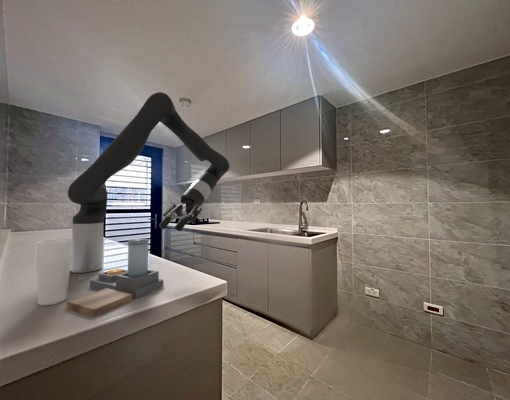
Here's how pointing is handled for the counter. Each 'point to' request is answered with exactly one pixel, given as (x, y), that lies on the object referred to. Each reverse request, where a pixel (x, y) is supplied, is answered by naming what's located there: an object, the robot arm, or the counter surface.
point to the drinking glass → (52, 270)
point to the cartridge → (137, 257)
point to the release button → (114, 271)
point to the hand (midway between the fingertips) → (168, 228)
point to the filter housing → (128, 283)
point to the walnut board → (99, 301)
